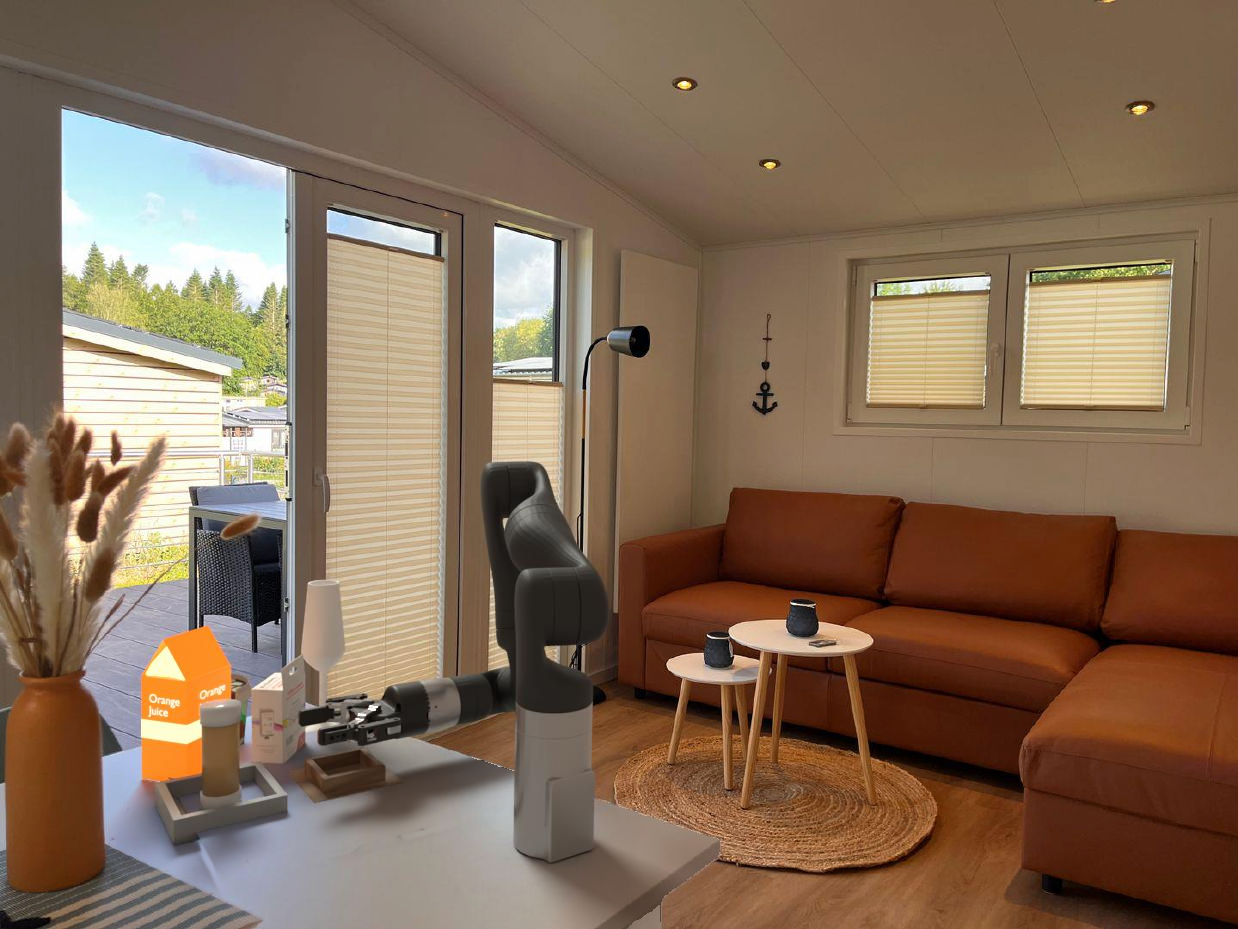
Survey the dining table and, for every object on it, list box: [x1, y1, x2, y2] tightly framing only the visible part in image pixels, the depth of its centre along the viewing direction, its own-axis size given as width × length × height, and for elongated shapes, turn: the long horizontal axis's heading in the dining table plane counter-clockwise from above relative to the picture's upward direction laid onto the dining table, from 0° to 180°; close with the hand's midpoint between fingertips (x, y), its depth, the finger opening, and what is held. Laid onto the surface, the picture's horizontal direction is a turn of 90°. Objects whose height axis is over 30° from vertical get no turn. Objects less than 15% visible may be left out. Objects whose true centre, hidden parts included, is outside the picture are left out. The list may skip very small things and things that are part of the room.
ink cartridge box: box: [250, 653, 306, 764], centre depth 131 cm, size 9×5×15 cm, turn 179°
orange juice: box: [140, 625, 232, 781], centre depth 126 cm, size 8×9×20 cm
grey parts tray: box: [154, 761, 288, 846], centre depth 114 cm, size 13×13×3 cm
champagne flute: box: [300, 579, 346, 734], centre depth 143 cm, size 7×7×24 cm
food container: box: [231, 672, 253, 745], centre depth 138 cm, size 12×6×10 cm, turn 66°
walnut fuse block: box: [287, 746, 404, 804], centre depth 123 cm, size 12×12×3 cm
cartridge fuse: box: [199, 699, 242, 811], centre depth 114 cm, size 5×5×13 cm
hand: (308, 728), depth 120 cm, fingers open, 8 cm apart
